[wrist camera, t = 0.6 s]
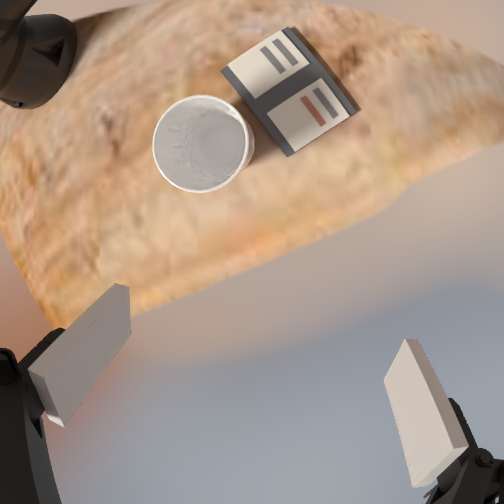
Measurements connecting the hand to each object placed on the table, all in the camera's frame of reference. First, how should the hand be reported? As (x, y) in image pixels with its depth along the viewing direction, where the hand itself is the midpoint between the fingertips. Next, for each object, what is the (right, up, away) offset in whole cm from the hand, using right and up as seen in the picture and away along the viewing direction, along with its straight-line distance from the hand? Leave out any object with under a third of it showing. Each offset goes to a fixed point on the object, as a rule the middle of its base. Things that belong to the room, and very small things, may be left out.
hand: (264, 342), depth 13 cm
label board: (+3, +21, +16) cm, 26 cm away
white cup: (-3, +16, +19) cm, 25 cm away
